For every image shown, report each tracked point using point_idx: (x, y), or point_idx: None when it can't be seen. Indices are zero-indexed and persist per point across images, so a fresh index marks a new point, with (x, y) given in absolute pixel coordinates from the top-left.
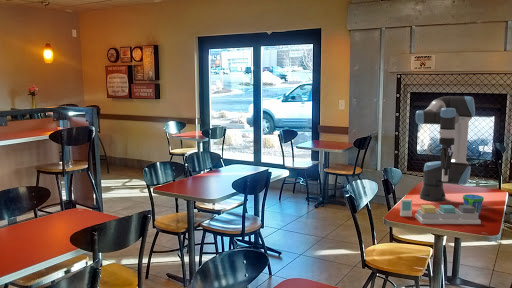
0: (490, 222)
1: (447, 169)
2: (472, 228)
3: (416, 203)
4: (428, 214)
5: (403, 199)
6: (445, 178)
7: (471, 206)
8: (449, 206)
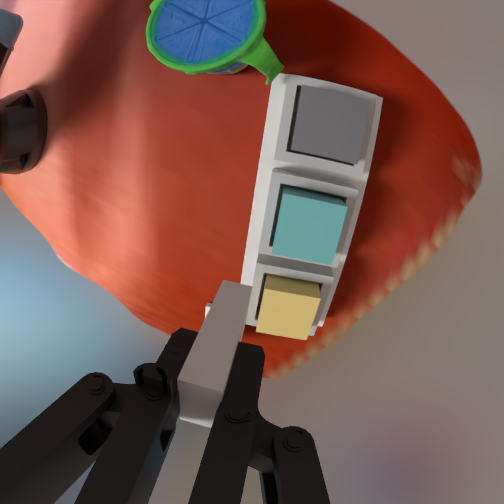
0: (359, 46)
1: (258, 419)
2: (419, 172)
3: (68, 211)
4: (320, 314)
5: None
6: (243, 326)
7: (332, 96)
8: (309, 219)
